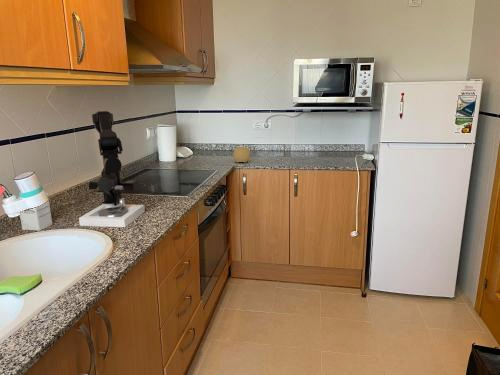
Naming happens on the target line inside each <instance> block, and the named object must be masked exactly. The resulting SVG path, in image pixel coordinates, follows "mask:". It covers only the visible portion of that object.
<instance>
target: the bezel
mask: <svg viewBox="0 0 500 375" xmlns="http://www.w3.org/2000/svg"><path fill="white" fill-rule="evenodd" d="M111 207H120V205H119V203H118V204H117V206H114V204H113V203H102V204H101V205H99V206H97V207H95V208H94V209H92V210H90V211H88V212H87V213H84V215H81V216H80V217H78V222H79V226H80V227H81V226H82V227H104V228H105V227H110V228H114V227H115V228H126V227H127V226H128V225H130V224H132V222H134V221H135V220H136V219H138V218H139V217H140V216H141V215H143V214H144V213H145V212H146V211H145V208H146V206H145V204H135V203H132V204H126V203H125V208H127V209H128V213H126V214H125V215H123V216H122V217H102V216H98V212H99V211H101V210H103V209H106V208H111Z"/></svg>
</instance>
